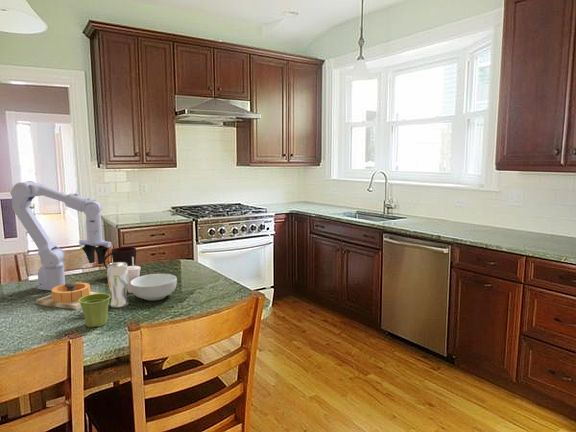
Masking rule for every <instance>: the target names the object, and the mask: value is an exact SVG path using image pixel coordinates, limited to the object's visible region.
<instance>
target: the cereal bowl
mask: <svg viewBox="0 0 576 432" xmlns="http://www.w3.org/2000/svg"><path fill="white" fill-rule="evenodd" d="M177 284H178V278H177V276H176V275H174V274H169V273H150V274H145V275H141V276H140V275H139V277H137V278H135V279H133V280H132V281H131V282H130V286H131V290H132V292H133V293H132V294H133V295H134V296H135V297H137V298H140V299H144V300H145V301H160V300H163V299H165V298H166V297H167V296H170V295H171V294H172V293H173V292H175V290H176V288H177Z"/></svg>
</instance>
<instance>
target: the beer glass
mask: <svg viewBox="0 0 576 432" xmlns="http://www.w3.org/2000/svg"><path fill="white" fill-rule="evenodd" d="M106 266H107V268H108V269H106V270H107V273H106V274H107V276H106V277H107V283H108V288H109V290H110V296H111V298H110V299H111V300H110V307H112V308H123V307H124V308H125V307H127V306H128V305H129V302H130V301H129V298H128V288H127V287H128V267H127V263H125V262H115V263H113V262H111V263H108V264H106Z"/></svg>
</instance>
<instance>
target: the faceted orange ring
mask: <svg viewBox="0 0 576 432" xmlns="http://www.w3.org/2000/svg"><path fill="white" fill-rule="evenodd" d="M75 283H76V285H75V286H74V291H67V287H65V284H66V283H65V284H62V285H59V286H56V287H54V288H53V289H52V290H51V291H50V292H51V294H52V300H53V301H55V302H62V303H63V302H74V301H78V300H79V299H80V298H81V297H84V296H87V295H90V294H91V292H92V291H91V285H90V283H88V282H77V281H76V282H75ZM51 294H50V295H51Z"/></svg>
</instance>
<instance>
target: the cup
mask: <svg viewBox="0 0 576 432" xmlns="http://www.w3.org/2000/svg"><path fill="white" fill-rule="evenodd" d="M110 256H111V257H112V263H115V262H125V263H127V267H128V266H132V257H134V266H136V262H137V248H136V247H134V246H121V247H115V248H112V249H111V252H110V253H108V254H107V255H105V258H104V263H103V264H102V265H103V266H104V267H105V268H106V270H107V269H108V266H107V264H106V260H107V259H108V258H109V257H110Z"/></svg>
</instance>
